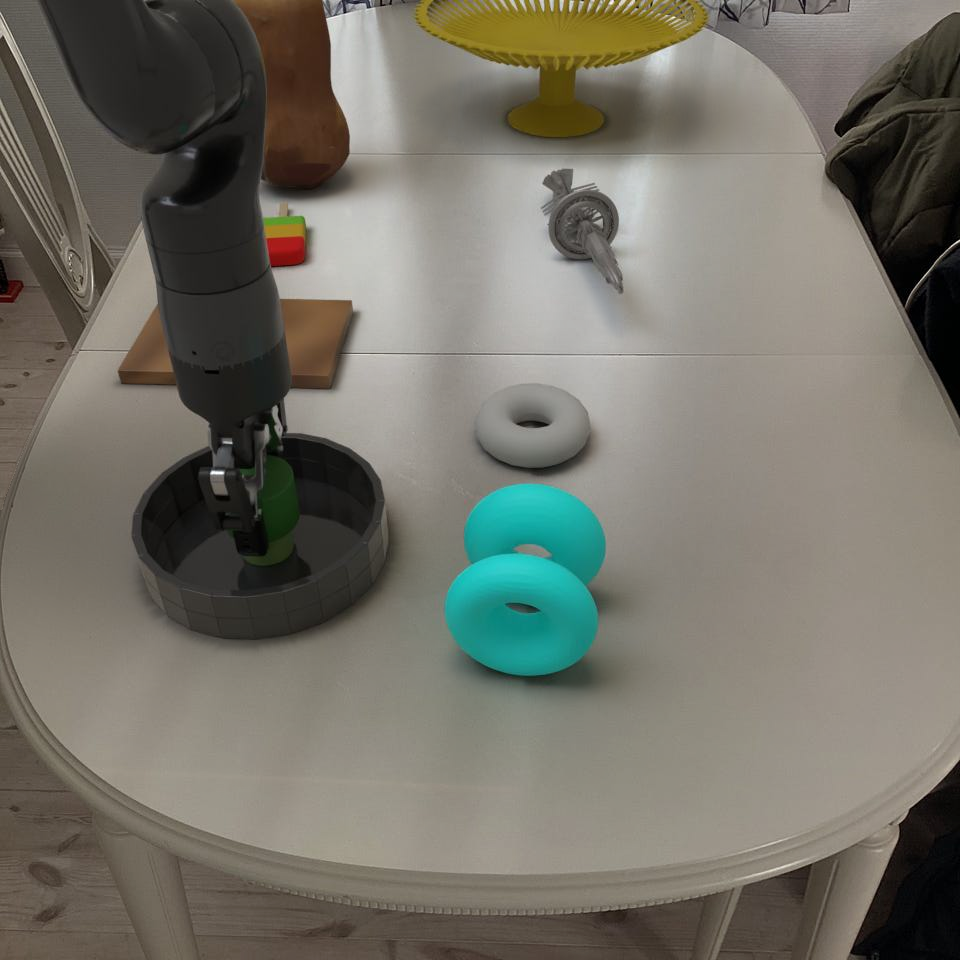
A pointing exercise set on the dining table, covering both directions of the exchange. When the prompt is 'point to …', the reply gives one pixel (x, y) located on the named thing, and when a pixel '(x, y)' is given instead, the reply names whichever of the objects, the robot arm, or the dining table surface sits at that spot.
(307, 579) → the pan
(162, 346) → the board
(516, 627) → the donuts
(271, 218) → the popsicle
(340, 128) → the butternut squash
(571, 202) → the spaceship
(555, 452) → the donut
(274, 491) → the green cylinder
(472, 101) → the dining table surface
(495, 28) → the cake stand
